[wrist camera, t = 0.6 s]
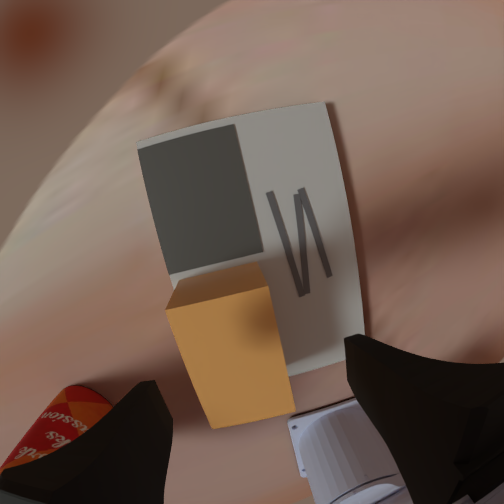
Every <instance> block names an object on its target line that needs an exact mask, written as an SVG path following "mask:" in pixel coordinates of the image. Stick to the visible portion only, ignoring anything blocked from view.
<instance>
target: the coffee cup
mask: <svg viewBox="0 0 504 504" xmlns="http://www.w3.org/2000/svg"><path fill="white" fill-rule="evenodd" d="M112 408H113V407H112V405H111V404H110V403H109V402H108V401H107V400H106V399H105V398H104V397H103V396H101V395H100V394H98V393H97V392H95V391H93V390H91V389H89V388H86V387H83V386H77V385H73V386H68V387H66V388H64V389H63V390H62V391H61V392H60V393H59V394H58V395H57V396H56V397H55V399H54V400H53V401H52V402H51V403H50V404H49V406H48V407H47V408H46V409H45V410H44V412H43V413H42V414H41V415H40V417H39V418H38V419H37V420H36V422H35V423H34V424H33V425H32V427H31V428H30V429H29V430H28V432H27V433H26V434H25V435H24V437H23V438H22V439H21V441H20V442H19V443H18V445H17V446H16V447H15V448H14V450H13V451H12V452H11V454H10V455H9V456H8V458H7V459H6V461H5V462H4V463H3V465H2V466H1V467H0V474H1V473H2V471H3V470H4V469H6V468H10V467H14V466H18V465H21V464H25V463H28V462H31V461H33V460H36V459H38V458H41V457H43V456H45V455H48V454H50V453H52V452H54V451H56V450H57V449H59V448H61V447H63V446H64V445H66V444H68V443H70V442H71V441H73V440H74V439H76V438H77V437H79V436H80V435H82V434H83V433H84V432H86V431H87V430H88V429H90V428H91V427H92V426H93V425H95V424H96V423H97V422H98V421H99V420H100V419H101V418H102V417H104V416H105V415H106V414H107V413H108V412H109V411H110V410H111V409H112Z"/></svg>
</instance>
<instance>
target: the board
mask: <svg viewBox="0 0 504 504" xmlns="http://www.w3.org/2000/svg"><path fill="white" fill-rule="evenodd" d="M136 143H137V148H138V149H137V150H138V155H139V160H140V164H141V169H142V174H143V178H144V182H145V187H146V191H147V195H148V199H149V203H150V207H151V211H152V215H153V219H154V223H155V227H156V231H157V234H158V238H159V242H160V245H161V249H162V252H163V256H164V259H165V263H166V266H167V270H168V273H169V275H170V279H171V282H172V285H173V288H174V290H175V288H176V286H177V283H178V281H179V280H182V279H186V278H190V277H195V276H199V275H203V274H207V273H211V272H215V271H219V270H224V269H228V268H232V267H236V266H240V265H244V264H248V263H252V262H256V261H257V263H258V265H259V267H260V269H261V271H262V273H263V276H264V278H265V280H266V282H267V284H268V287H269V291H270V296H271V300H272V305H273V309H274V314H275V318H276V323H277V327H278V332H279V336H280V341H281V345H282V350H283V354H284V359H285V363H286V368H287V372H288V377H289V376H293V375H297V374H300V373H304V372H307V371H311V370H314V369H317V368H321V367H324V366H327V365H330V364H334V363H337V362H340V361H343V360H346V357H345V346H344V338H345V337H348V336H352V335H355V334H358V333H359V334H362V335H365V331H364V319H363V308H362V299H361V289H360V281H359V273H358V265H357V258H356V251H355V244H354V237H353V231H352V225H351V219H350V213H349V207H348V202H347V197H346V191H345V186H344V181H343V176H342V171H341V167H340V162H339V158H338V153H337V149H336V144H335V140H334V136H333V132H332V128H331V124H330V120H329V116H328V112H327V108H326V105H325V102H317V103H309V104H302V105H295V106H288V107H281V108H275V109H269V110H264V111H258V112H253V113H248V114H242V115H238V116H233V117H228V118H224V119H219V120H215V121H210V122H206V123H202V124H198V125H194V126H190V127H186V128H183V129H179V130H175V131H172V132H168V133H165V134H161V135H158V136H154V137H151V138H148V139H145V140H141V141H138V142H136Z"/></svg>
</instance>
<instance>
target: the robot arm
mask: <svg viewBox="0 0 504 504" xmlns="http://www.w3.org/2000/svg"><path fill="white" fill-rule="evenodd" d="M344 346H345V357H346V369H347V381H348V383H349V385H350V387H351V389H352V391H353V393H354V395H355V398H353V399H350V400H347V401H345V402H342V403H339V404H336V405H332V406H329V407H326V408H323V409H320V410H316V411H313V412H310V413H306V414H303V415H299V416H295V417H292V418H290V419H288V422H287V423H288V427H289V431H290V435H291V439H292V443H293V447H294V451H295V455H296V459H297V463H298V467H299V471H300V475H301V477H307V478H308V481H309V484H310V487H311V491H312V494H313V497H314V500H315V503H316V504H504V363H495V364H466V363H454V362H446V361H441V360H436V359H430V358H426V357H422V356H419V355H415V354H412V353H409V352H406V351H403V350H400V349H397V348H395V347H392V346H389V345H387V344H384V343H382V342H379V341H377V340H375V339H372V338H370V337H367V336H365V335H362V334H359V333H358V334H355V335H352V336H348V337H345V338H344ZM294 425H296V426H294ZM293 426H294V427H293ZM172 437H173V418H172V416H171V414H170V412H169V410H168V408H167V406H166V404H165V402H164V400H163V398H162V395H161V393H160V391H159V389H158V387H157V384H156V382H155V380H152V381H144V382H140V383H139V384H137V385H136V386H135V387H134V388H133V389H132V390H131V391H130V392H129V393H128V394H127V395H126V396H125V397H124V398H123V399H122V400H121V401H120V402H118V403H117V404H116V405H115V406H114V407H113V408H112V409H111V410H110V411H109V412H108V413H107V414H106V415H105V416H104V417H102V418H101V419H100V420H99V421H98V422H97V423H96V424H95V425H93V426H92V427H91V428H90V429H88V430H87V431H86V432H84V433H83V434H82V435H80V436H79V437H77V438H76V439H74V440H73V441H71V442H70V443H68V444H66V445H64V446H63V447H61V448H59V449H57V450H56V451H54V452H52V453H50V454H48V455H45V456H43V457H41V458H38V459H36V460H33V461H31V462H28V463H25V464H21V465H18V466H14V467H10V468H6V469H4V470H3V471H2V473H1V474H0V504H164V488H165V481H166V475H167V469H168V463H169V458H170V452H171V446H172Z"/></svg>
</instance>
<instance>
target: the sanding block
mask: <svg viewBox="0 0 504 504" xmlns="http://www.w3.org/2000/svg"><path fill="white" fill-rule="evenodd" d="M165 311H166V314H167V317H168V320H169V323H170V326H171V329H172V331H173V334H174V337H175V340H176V342H177V345H178V348H179V350H180V353H181V356H182V358H183V361H184V364H185V366H186V369H187V371H188V374H189V376H190V379H191V381H192V384H193V386H194V388H195V391H196V393H197V396H198V398H199V400H200V403H201V405H202V407H203V410H204V412H205V414H206V416H207V419H208V421H209V423H210V425H211V427H212V429H217V428H223V427H228V426H234V425H239V424H244V423H249V422H254V421H258V420H263V419H267V418H271V417H275V416H279V415H283V414H287V413H291V412H295V411H296V409H295V404H294V400H293V395H292V391H291V386H290V381H289V377H288V372H287V368H286V363H285V359H284V354H283V350H282V345H281V341H280V336H279V332H278V327H277V323H276V318H275V314H274V309H273V305H272V300H271V296H270V291H269V287H268V284H267V282H266V280H265V278H264V276H263V273H262V271H261V269H260V267H259V265H258V263H257V261H256V262H252V263H248V264H244V265H240V266H236V267H232V268H228V269H224V270H219V271H215V272H211V273H207V274H203V275H199V276H195V277H190V278H186V279H182V280H179V281H178V283H177V286H176V288H175V290H174V292H173V294H172V296H171V298H170V301H169V303H168V305H167V307H166V309H165Z"/></svg>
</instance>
